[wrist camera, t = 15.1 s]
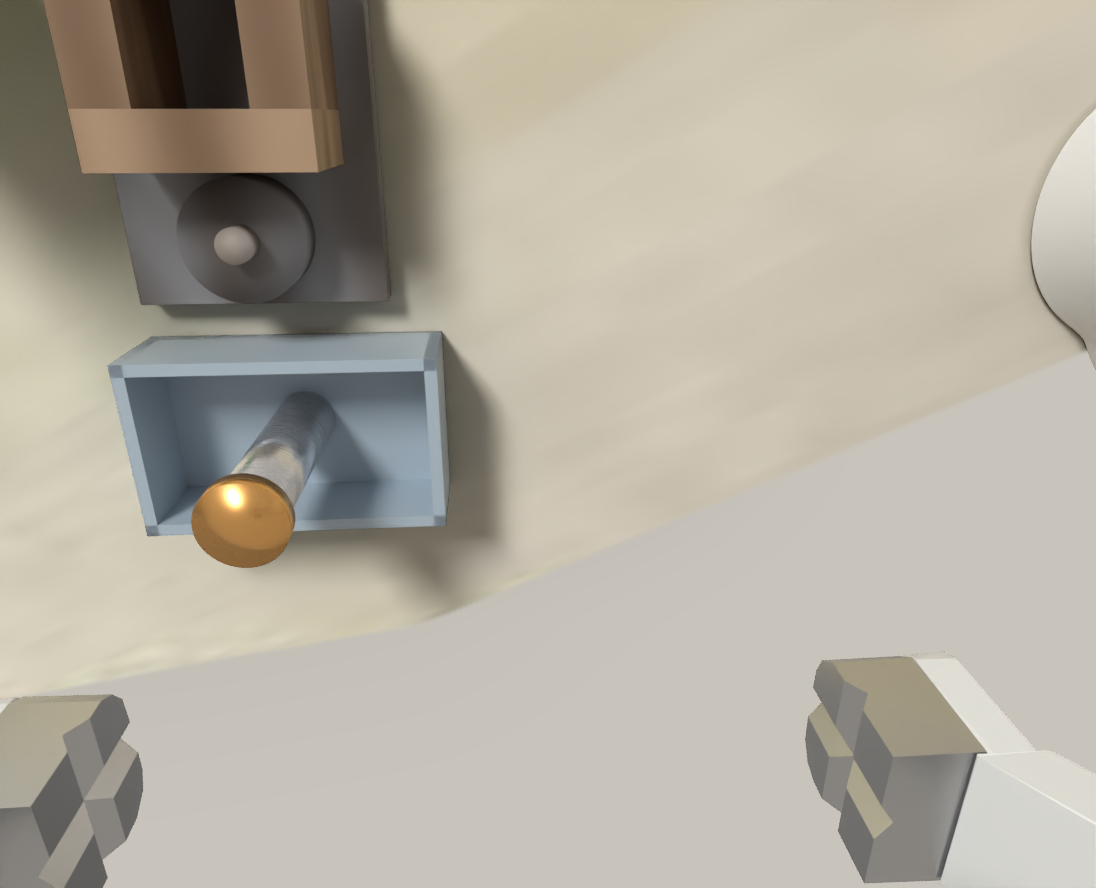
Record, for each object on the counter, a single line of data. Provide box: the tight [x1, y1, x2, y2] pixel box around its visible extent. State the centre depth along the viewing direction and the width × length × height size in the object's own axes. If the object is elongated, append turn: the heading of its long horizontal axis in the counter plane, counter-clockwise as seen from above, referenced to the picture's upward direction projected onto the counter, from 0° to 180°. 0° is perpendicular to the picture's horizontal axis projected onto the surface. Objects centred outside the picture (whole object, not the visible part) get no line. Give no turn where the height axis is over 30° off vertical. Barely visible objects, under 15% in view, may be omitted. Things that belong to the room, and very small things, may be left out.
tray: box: [107, 331, 450, 536], centre depth 40 cm, size 15×9×5 cm, turn 90°
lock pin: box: [191, 391, 335, 568], centre depth 36 cm, size 4×4×12 cm
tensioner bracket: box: [43, 0, 391, 305], centre depth 33 cm, size 12×16×8 cm
